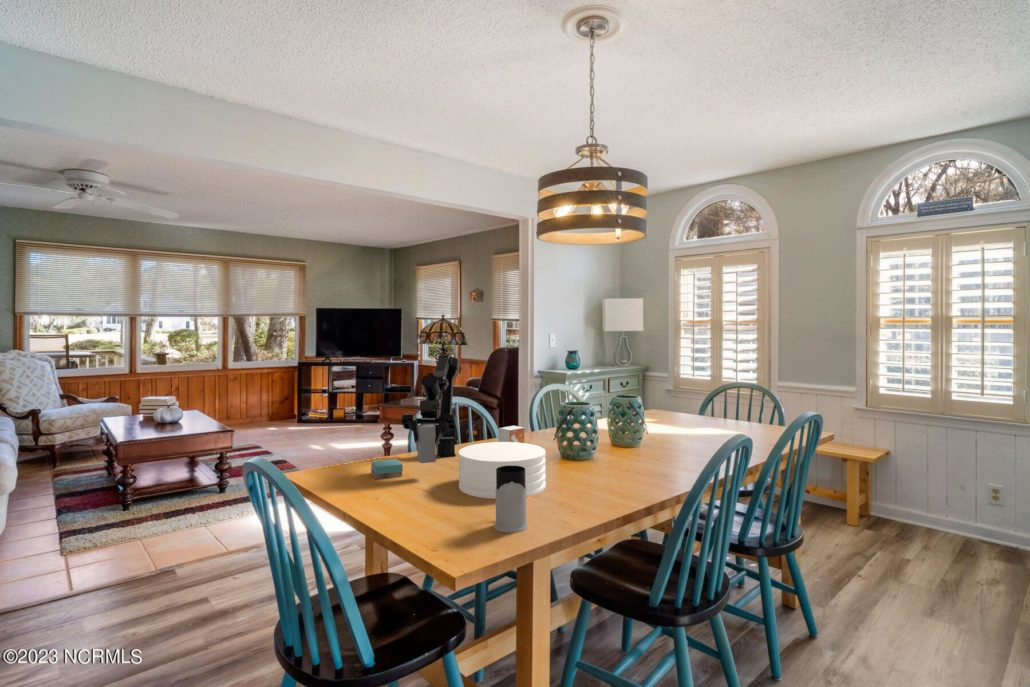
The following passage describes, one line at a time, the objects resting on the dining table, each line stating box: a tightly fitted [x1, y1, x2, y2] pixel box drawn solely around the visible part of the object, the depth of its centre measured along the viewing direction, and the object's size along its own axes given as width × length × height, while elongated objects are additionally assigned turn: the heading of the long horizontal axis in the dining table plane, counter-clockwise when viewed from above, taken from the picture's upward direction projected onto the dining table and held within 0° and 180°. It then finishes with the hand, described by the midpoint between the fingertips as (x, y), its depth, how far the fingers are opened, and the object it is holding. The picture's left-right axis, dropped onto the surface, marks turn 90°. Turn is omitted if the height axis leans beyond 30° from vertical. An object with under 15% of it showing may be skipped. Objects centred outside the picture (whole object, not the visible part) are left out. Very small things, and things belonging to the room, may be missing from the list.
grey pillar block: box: [417, 424, 437, 464], centre depth 193 cm, size 5×5×12 cm
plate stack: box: [458, 441, 547, 500], centre depth 184 cm, size 28×28×12 cm
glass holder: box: [493, 466, 529, 534], centre depth 150 cm, size 9×14×15 cm, turn 5°
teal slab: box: [370, 458, 404, 474], centre depth 198 cm, size 9×9×2 cm
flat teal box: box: [370, 468, 403, 480], centre depth 198 cm, size 9×9×2 cm
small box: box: [497, 425, 525, 443], centre depth 216 cm, size 8×6×13 cm
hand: (425, 442), depth 192 cm, fingers closed on grey pillar block, 7 cm apart
